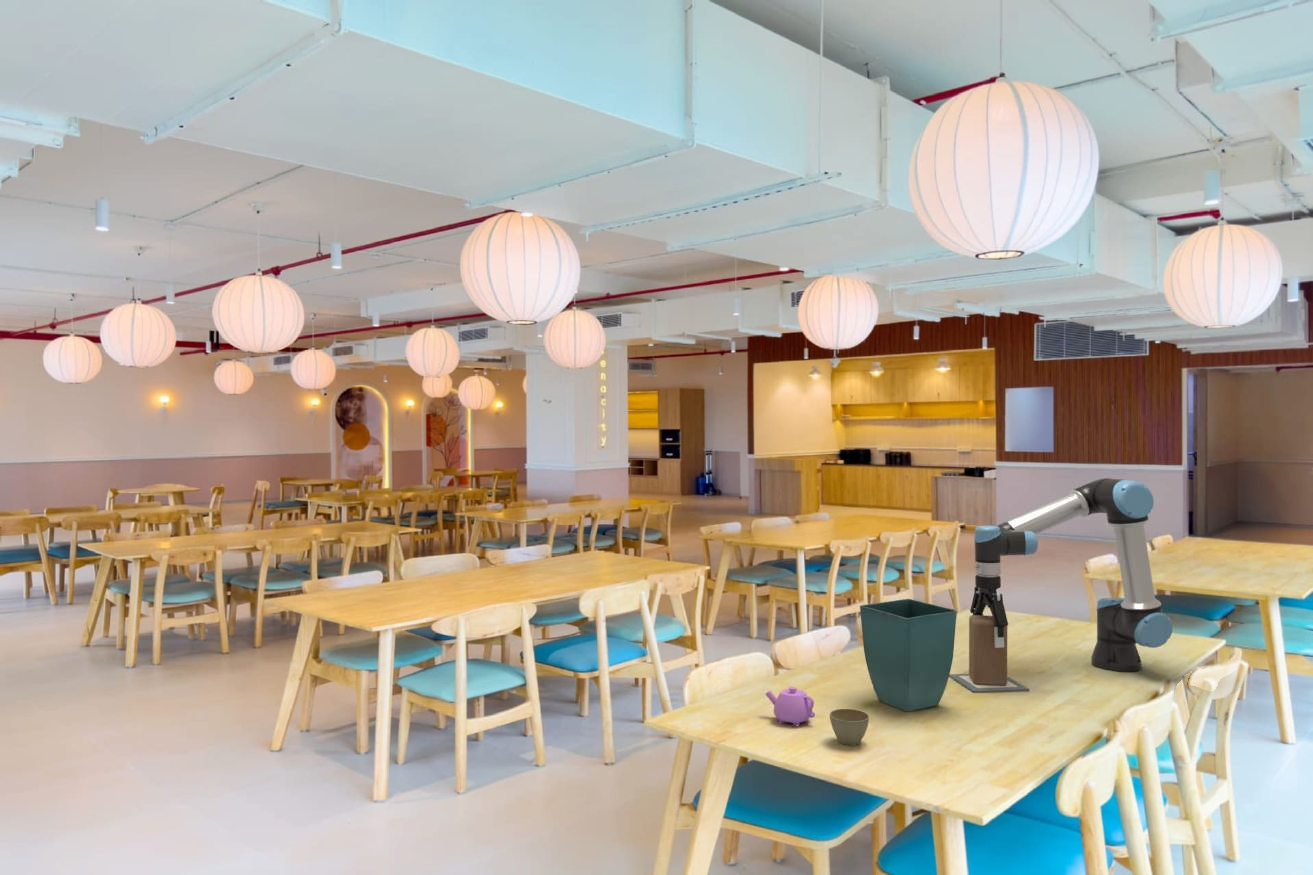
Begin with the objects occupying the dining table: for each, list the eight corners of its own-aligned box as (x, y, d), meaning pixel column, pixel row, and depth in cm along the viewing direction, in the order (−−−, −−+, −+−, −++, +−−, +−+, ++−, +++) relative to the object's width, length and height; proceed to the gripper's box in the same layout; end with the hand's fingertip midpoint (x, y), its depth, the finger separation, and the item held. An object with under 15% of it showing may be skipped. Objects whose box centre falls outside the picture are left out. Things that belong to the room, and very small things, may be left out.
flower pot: (906, 718, 242) (906, 617, 241) (858, 699, 259) (858, 604, 259) (958, 708, 251) (958, 610, 251) (908, 689, 269) (908, 598, 268)
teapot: (806, 731, 232) (806, 696, 232) (756, 720, 241) (756, 686, 241) (823, 720, 240) (823, 687, 240) (774, 710, 249) (774, 677, 249)
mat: (1000, 674, 285) (1000, 672, 285) (1029, 690, 267) (1029, 688, 267) (948, 676, 283) (948, 673, 283) (973, 692, 265) (973, 690, 265)
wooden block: (1007, 686, 269) (1008, 622, 269) (974, 684, 271) (974, 620, 271) (1001, 677, 279) (1001, 615, 279) (968, 675, 281) (968, 614, 281)
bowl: (824, 736, 228) (824, 708, 228) (862, 734, 229) (862, 707, 229) (835, 749, 218) (835, 721, 218) (874, 748, 219) (874, 720, 219)
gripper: (959, 569, 287) (960, 633, 287) (995, 582, 262) (996, 652, 262) (980, 568, 288) (981, 632, 288) (1019, 581, 263) (1020, 651, 263)
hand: (988, 641), depth 275 cm, fingers open, 13 cm apart
